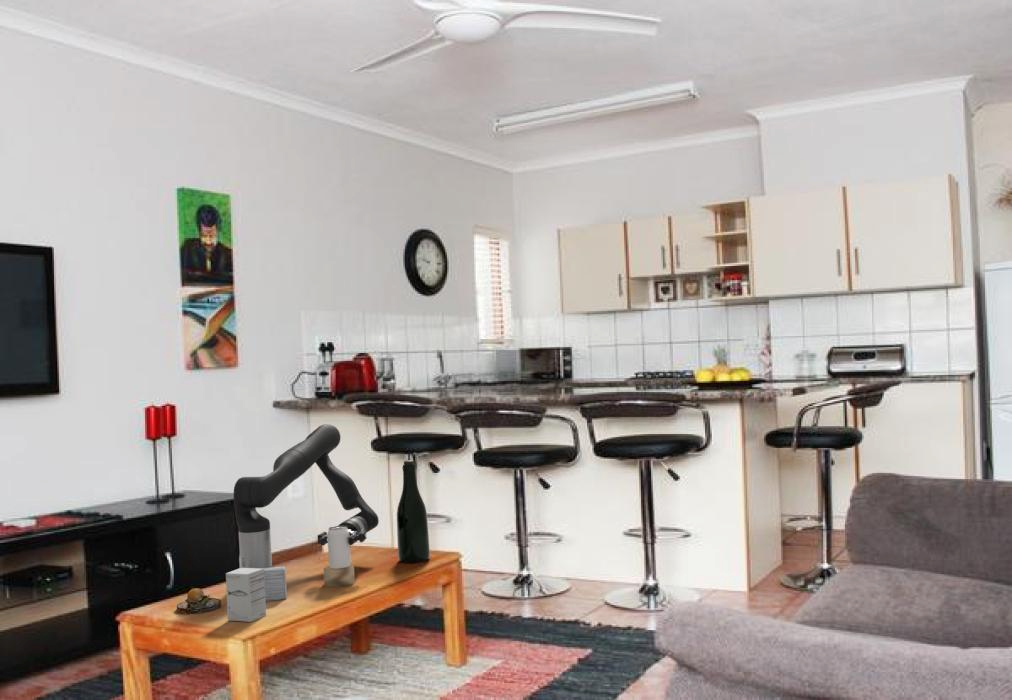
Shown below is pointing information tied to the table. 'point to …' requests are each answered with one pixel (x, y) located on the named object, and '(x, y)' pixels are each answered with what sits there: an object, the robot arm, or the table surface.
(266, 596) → the medicine box
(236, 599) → the supplement box
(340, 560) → the can
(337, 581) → the grey rounded block
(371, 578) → the table surface
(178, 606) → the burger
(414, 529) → the dark green wine bottle
